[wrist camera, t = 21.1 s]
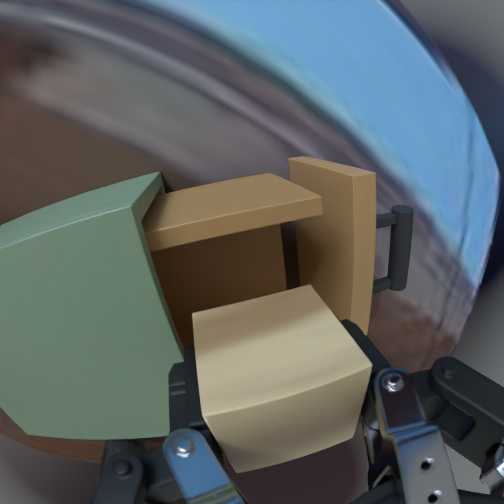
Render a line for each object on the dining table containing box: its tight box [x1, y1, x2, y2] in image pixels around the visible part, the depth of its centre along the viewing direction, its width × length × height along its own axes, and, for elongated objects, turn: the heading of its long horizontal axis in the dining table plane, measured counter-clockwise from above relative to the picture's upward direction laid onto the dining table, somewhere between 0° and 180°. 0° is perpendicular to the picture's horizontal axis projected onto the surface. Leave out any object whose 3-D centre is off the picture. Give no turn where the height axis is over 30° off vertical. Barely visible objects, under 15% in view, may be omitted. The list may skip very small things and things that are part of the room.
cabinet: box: [0, 172, 184, 439], centre depth 14 cm, size 15×13×10 cm
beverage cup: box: [97, 438, 147, 485], centre depth 17 cm, size 7×7×20 cm
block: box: [192, 285, 372, 473], centre depth 9 cm, size 4×4×4 cm
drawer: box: [141, 156, 413, 348], centre depth 16 cm, size 18×11×8 cm, turn 98°
